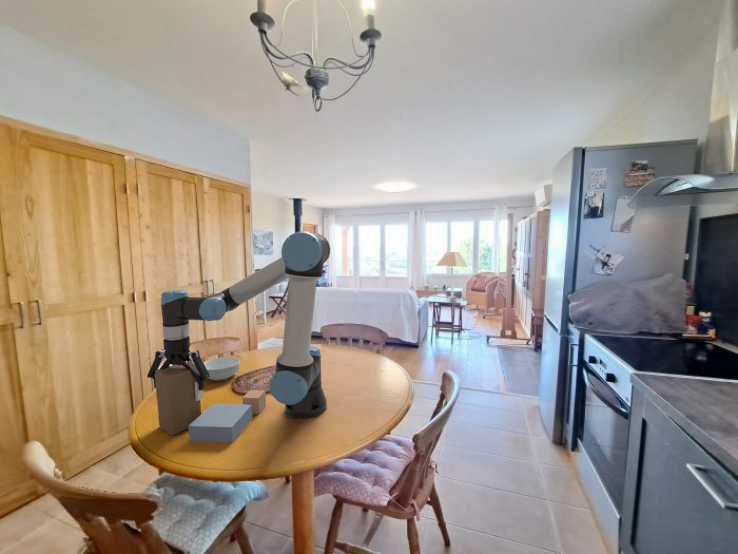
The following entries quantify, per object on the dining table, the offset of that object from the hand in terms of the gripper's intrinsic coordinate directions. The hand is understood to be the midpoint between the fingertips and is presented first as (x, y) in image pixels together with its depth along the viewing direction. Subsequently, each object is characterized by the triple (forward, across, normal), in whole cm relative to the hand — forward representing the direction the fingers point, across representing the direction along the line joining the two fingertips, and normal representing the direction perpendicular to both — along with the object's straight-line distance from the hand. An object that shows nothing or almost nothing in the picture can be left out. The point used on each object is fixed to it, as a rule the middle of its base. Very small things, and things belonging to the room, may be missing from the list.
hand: (179, 398), depth 109 cm
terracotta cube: (+9, -21, -11) cm, 25 cm away
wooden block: (+10, 0, 0) cm, 10 cm away
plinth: (+9, -16, +2) cm, 18 cm away
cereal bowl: (+10, +7, -39) cm, 41 cm away
